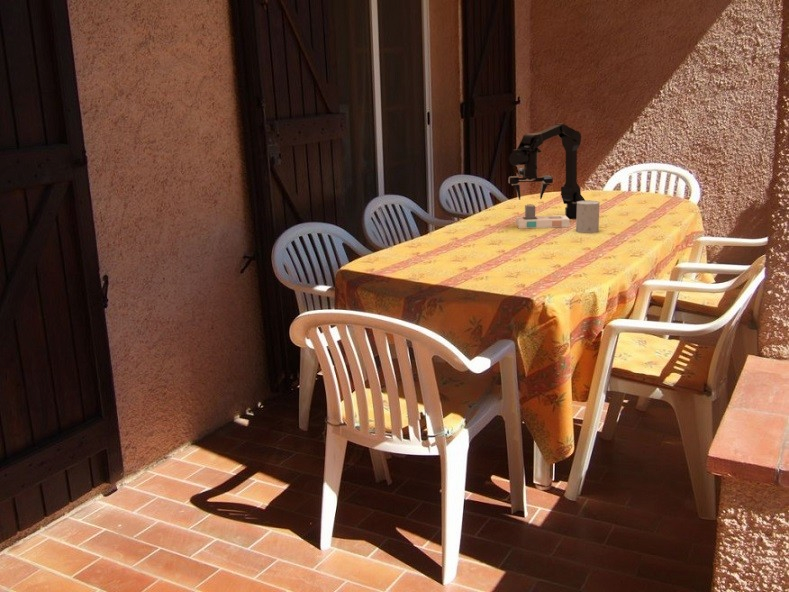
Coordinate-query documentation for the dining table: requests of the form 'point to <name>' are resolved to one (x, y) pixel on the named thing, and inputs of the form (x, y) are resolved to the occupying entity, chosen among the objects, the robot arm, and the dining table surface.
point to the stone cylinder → (587, 216)
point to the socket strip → (543, 222)
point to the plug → (529, 211)
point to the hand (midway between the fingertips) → (530, 199)
